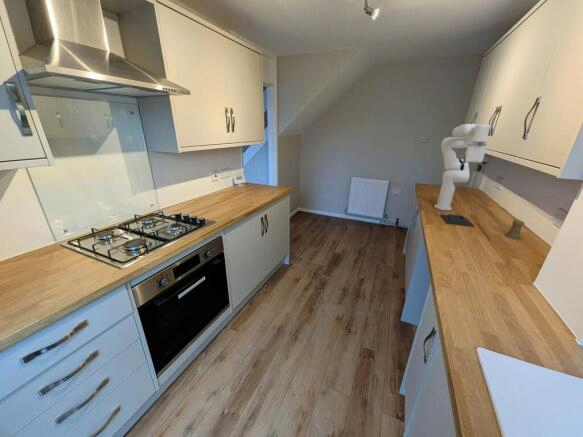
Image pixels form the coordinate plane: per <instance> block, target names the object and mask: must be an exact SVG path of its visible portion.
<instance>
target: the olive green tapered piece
mask: <svg viewBox="0 0 583 437" xmlns="http://www.w3.org/2000/svg"><path fill="white" fill-rule="evenodd" d="M524 225H525V222H524V221H523V220H521V219H514V220H513V221H512V225H511V227H510V229H509V230H508V232H507V233H506V237H507V238H510V239H513V240H519V239H520V237H521V236H520V235H521V231H522V227H523V226H524Z"/></svg>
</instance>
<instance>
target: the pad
mask: <svg viewBox="0 0 583 437" xmlns="http://www.w3.org/2000/svg"><path fill="white" fill-rule="evenodd" d="M440 216H441V218H442V219H443V220H444V222H445V223H446V224H449V225H456V226H465V227H471V228H472V227H474V224H473V223H472V221H470V220H469V219H468V218H467V217H465V216H464V215H462V214H461V215H460V214H453V213H451V214H450V213H448V214H441V215H440Z"/></svg>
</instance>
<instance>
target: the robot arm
mask: <svg viewBox="0 0 583 437" xmlns="http://www.w3.org/2000/svg"><path fill="white" fill-rule="evenodd" d="M490 129H491V125H490V124H489V123H464V124H460V125H459V126H456V127H454V128H453V130H452V131H451V135H452V136H448V137H445V138H443V139H442V141H441V144H440V149H441V153H442V155H443V165H444V169H445V171H444V172H443V174H442V182H441V187H440V190H439V194H438V198H437V202H436V204H434V205H433V207H434V208H435V209H437V210H441V211H452V209H453V208H452V206H451V205H452V201H453V197H454V194H455V191H456V186H455V184H454V183H456V184H457V183H459V184H466V183H468V182H469V181H470V176H471V175H470V165H469V163H478V166H477V169H476V171H477V172H479V173H480V172H481V171H482V168H483V166H484V165H486V164H487V163H488V162H489V161H490V158H489V157H486V156H485V154H486V146H488V142H487V139H488V135H489V132H490ZM468 145H469V146H468ZM466 147H467V148H466ZM465 148H466V151H465V153H464V155H461V156H458V158H457V153H456V152H455V150H454V149H465Z"/></svg>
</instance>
